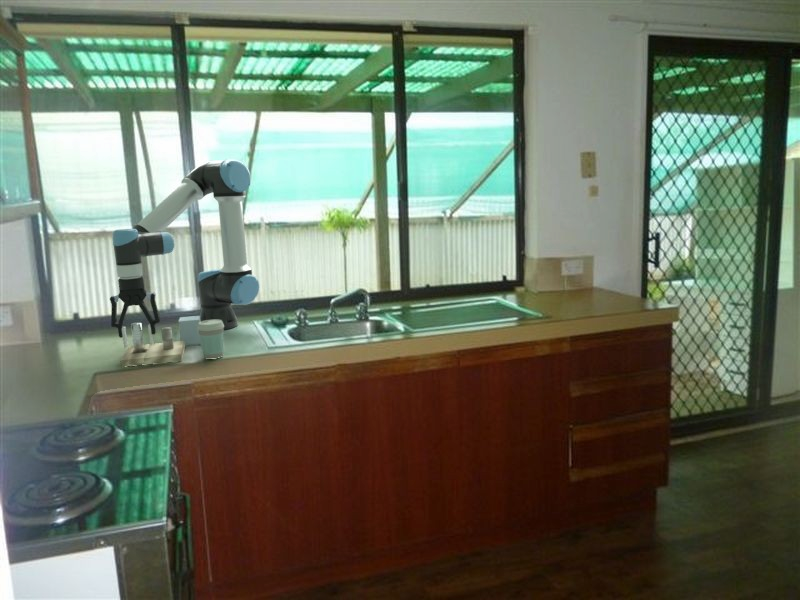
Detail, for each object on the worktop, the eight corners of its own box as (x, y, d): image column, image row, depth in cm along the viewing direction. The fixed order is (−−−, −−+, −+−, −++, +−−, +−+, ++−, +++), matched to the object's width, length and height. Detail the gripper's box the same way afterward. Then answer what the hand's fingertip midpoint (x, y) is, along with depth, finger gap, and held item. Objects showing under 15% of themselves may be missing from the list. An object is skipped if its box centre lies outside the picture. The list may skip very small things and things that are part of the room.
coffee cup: (217, 352, 205) (214, 317, 203) (232, 356, 200) (229, 320, 197) (195, 358, 198) (191, 323, 196) (209, 362, 193) (206, 326, 191)
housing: (202, 339, 223) (200, 315, 221) (201, 343, 216) (199, 319, 215) (182, 341, 221) (179, 317, 219) (181, 346, 214) (178, 321, 213)
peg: (146, 356, 202) (141, 322, 200) (145, 359, 199) (140, 324, 197) (135, 357, 201) (131, 323, 199) (134, 360, 198) (130, 325, 196)
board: (185, 347, 212) (182, 321, 211) (181, 361, 195) (178, 333, 194) (130, 352, 208) (126, 326, 206) (121, 367, 191) (117, 338, 189)
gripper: (164, 273, 201) (172, 339, 206) (98, 277, 196) (107, 345, 200) (162, 276, 194) (170, 344, 199) (94, 281, 189) (103, 351, 193)
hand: (138, 345), depth 199 cm, fingers open, 7 cm apart
